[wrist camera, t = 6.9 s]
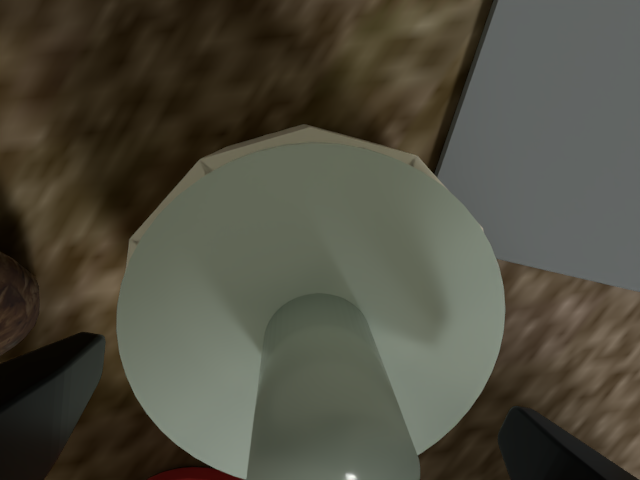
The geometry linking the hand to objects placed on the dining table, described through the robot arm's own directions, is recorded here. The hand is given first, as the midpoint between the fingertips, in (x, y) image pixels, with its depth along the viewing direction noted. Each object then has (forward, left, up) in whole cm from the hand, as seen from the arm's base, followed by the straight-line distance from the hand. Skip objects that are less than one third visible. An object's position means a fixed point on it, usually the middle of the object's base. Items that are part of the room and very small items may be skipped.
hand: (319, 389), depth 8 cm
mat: (-10, -8, -8) cm, 15 cm away
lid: (0, 0, -3) cm, 3 cm away
